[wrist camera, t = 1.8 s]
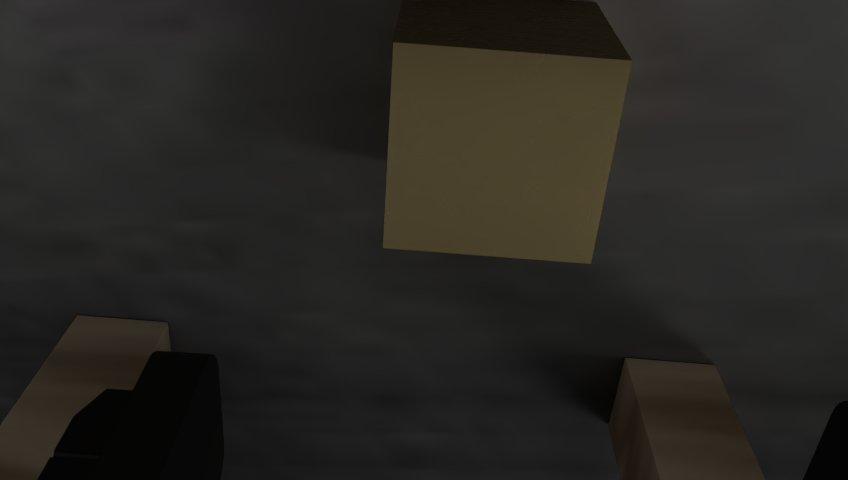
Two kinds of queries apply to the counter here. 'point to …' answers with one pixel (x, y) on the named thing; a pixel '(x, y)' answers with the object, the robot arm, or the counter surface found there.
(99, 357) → the trapdoor frame
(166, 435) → the robot arm
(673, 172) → the counter surface
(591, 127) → the block
